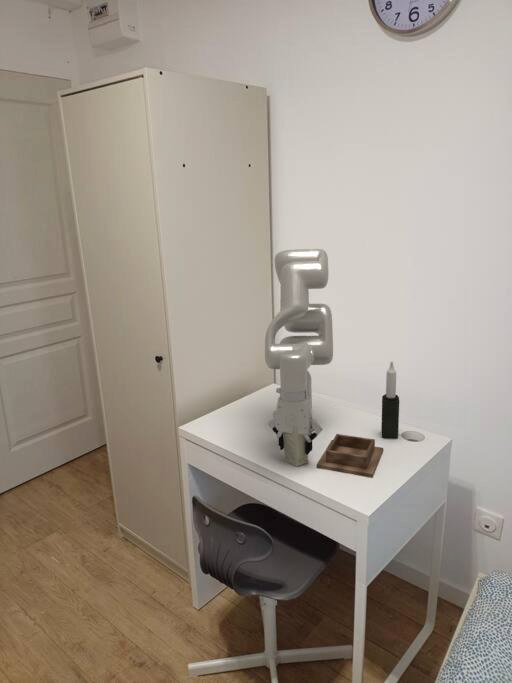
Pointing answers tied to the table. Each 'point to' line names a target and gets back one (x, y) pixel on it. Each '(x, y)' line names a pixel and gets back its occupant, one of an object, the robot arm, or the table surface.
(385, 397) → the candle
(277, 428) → the robot arm
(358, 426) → the table surface
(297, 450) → the skincare box
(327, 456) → the tray
